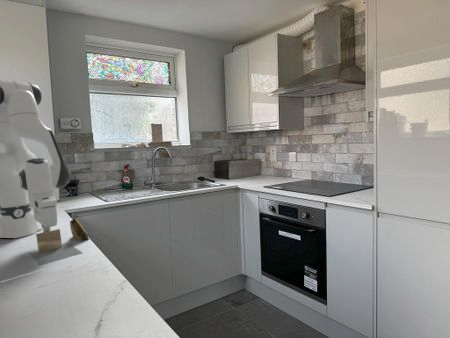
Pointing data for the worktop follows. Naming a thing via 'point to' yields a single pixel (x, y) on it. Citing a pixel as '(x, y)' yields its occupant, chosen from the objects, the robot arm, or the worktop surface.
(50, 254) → the mat
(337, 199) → the worktop surface
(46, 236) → the coaster
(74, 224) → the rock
